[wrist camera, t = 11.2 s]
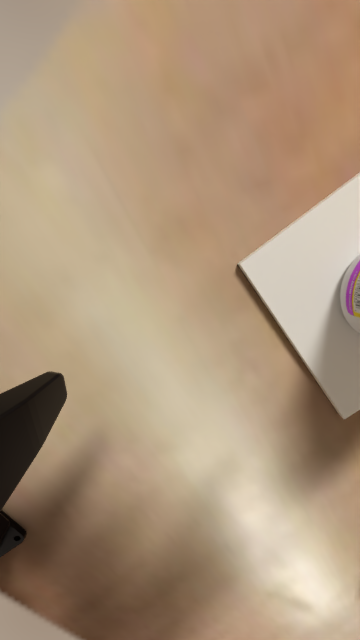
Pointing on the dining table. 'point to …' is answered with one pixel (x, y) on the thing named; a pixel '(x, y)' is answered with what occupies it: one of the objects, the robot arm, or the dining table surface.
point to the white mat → (316, 291)
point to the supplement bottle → (351, 295)
